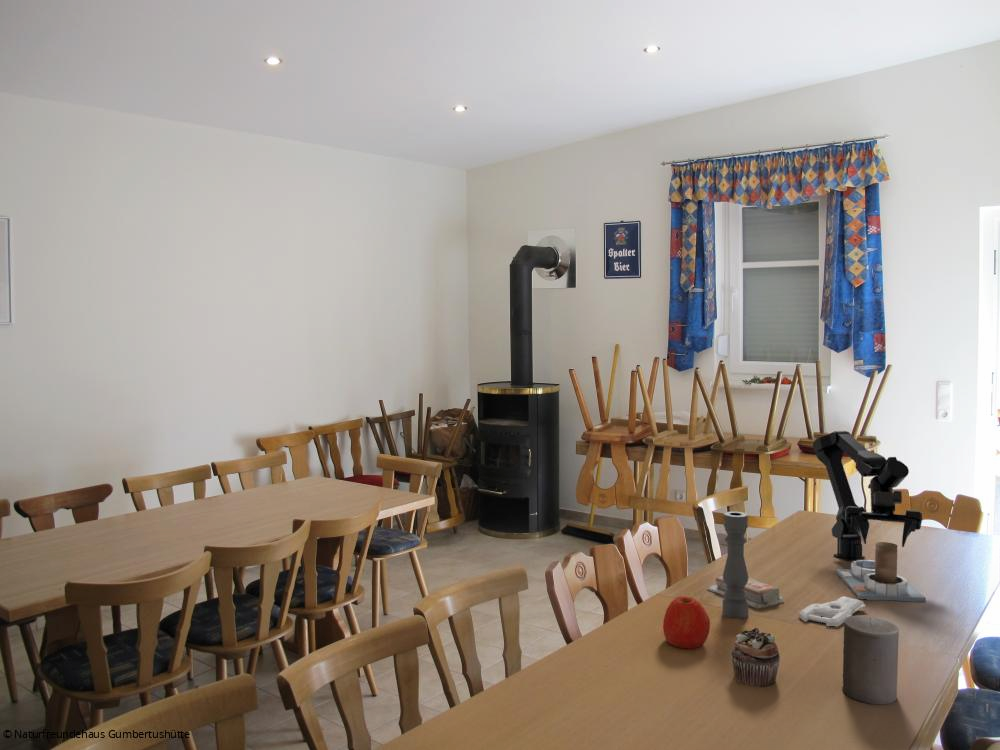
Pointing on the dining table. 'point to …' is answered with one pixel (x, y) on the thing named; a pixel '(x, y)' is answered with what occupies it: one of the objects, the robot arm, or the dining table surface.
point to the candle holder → (735, 566)
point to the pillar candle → (870, 659)
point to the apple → (686, 623)
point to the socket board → (879, 597)
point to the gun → (832, 611)
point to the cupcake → (755, 658)
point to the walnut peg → (886, 562)
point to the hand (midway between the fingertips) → (884, 544)
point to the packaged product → (753, 592)
